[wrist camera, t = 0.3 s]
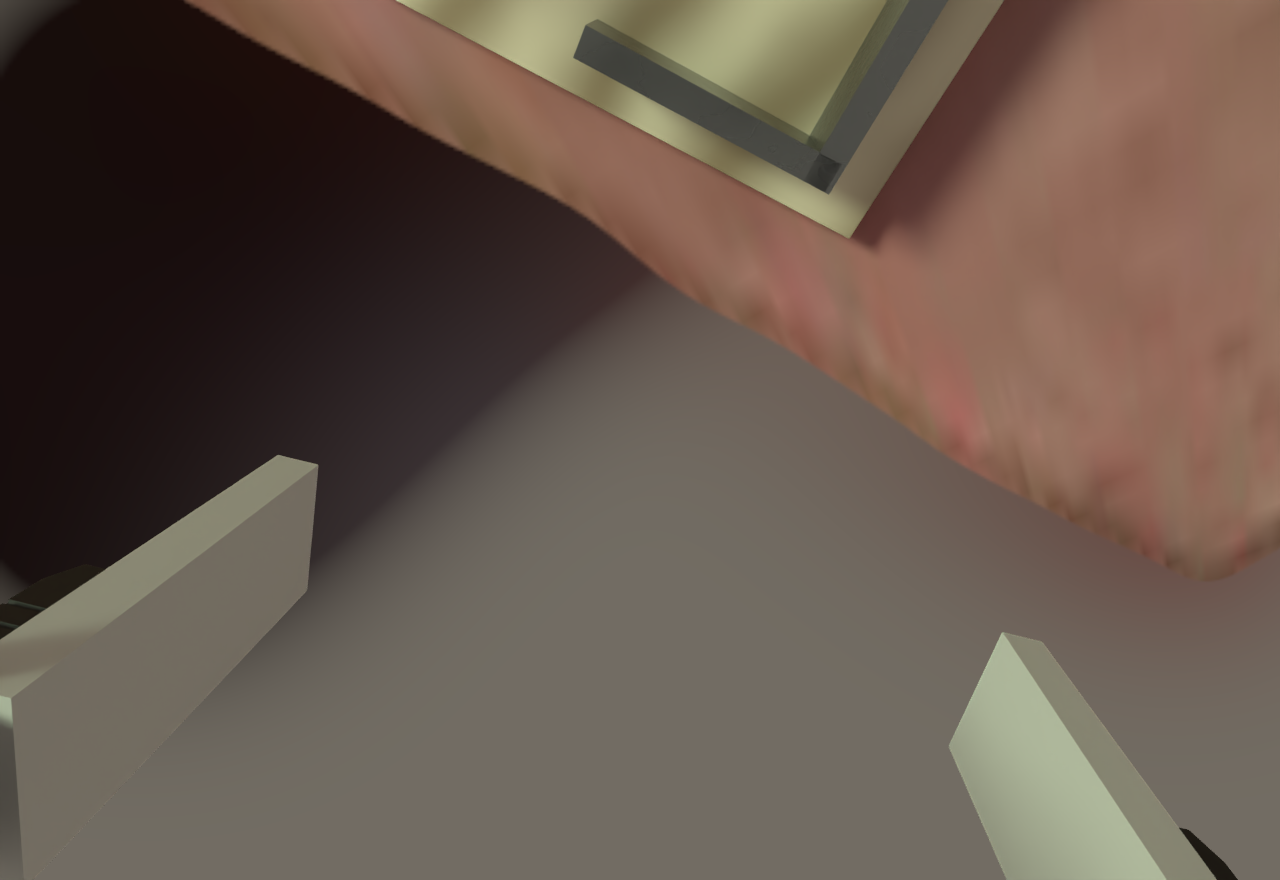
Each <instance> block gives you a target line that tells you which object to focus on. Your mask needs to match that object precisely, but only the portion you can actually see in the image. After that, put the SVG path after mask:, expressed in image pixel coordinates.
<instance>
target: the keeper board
mask: <svg viewBox="0 0 1280 880" xmlns="http://www.w3.org/2000/svg"><path fill="white" fill-rule="evenodd" d="M396 1H398V2H400V3H402V4H404V5H406V6H408V7H410V8H412V9H413V10H415V11H417V12H419V13H421V14H423V15H425V16H427V17H429V18H431V19H432V20H434V21H436V22H438V23H440V24H442V25H444V26H446V27H448V28H450V29H451V30H453V31H455V32H457V33H459V34H461V35H463V36H465V37H467V38H469V39H470V40H472V41H474V42H476V43H478V44H480V45H482V46H484V47H486V48H488V49H489V50H491V51H493V52H495V53H497V54H499V55H501V56H503V57H505V58H507V59H508V60H510V61H512V62H514V63H516V64H518V65H520V66H522V67H524V68H526V69H527V70H529V71H531V72H533V73H535V74H537V75H539V76H541V77H543V78H545V79H546V80H548V81H550V82H552V83H554V84H556V85H558V86H560V87H562V88H564V89H565V90H567V91H569V92H571V93H573V94H575V95H577V96H579V97H581V98H583V99H584V100H586V101H588V102H590V103H592V104H594V105H596V106H598V107H600V108H602V109H603V110H605V111H607V112H609V113H611V114H613V115H615V116H617V117H619V118H621V119H622V120H624V121H626V122H628V123H630V124H632V125H634V126H636V127H638V128H640V129H641V130H643V131H645V132H647V133H649V134H651V135H653V136H655V137H657V138H659V139H660V140H662V141H664V142H666V143H668V144H670V145H672V146H674V147H676V148H678V149H679V150H681V151H683V152H685V153H687V154H689V155H691V156H693V157H695V158H697V159H698V160H700V161H702V162H704V163H706V164H708V165H710V166H712V167H714V168H716V169H717V170H719V171H721V172H723V173H725V174H727V175H729V176H731V177H733V178H735V179H736V180H738V181H740V182H742V183H744V184H746V185H748V186H750V187H752V188H754V189H755V190H757V191H759V192H761V193H763V194H765V195H767V196H769V197H771V198H773V199H774V200H776V201H778V202H780V203H782V204H784V205H786V206H788V207H790V208H792V209H793V210H795V211H797V212H799V213H801V214H803V215H805V216H807V217H809V218H811V219H812V220H814V221H816V222H818V223H820V224H822V225H824V226H826V227H828V228H830V229H831V230H833V231H835V232H837V233H839V234H841V235H843V236H845V237H847V238H850V237H851V235H852V234H853V232H854V230H855V229H856V227H857V226H858V224H859V223H860V221H861V220H862V218H863V217H864V215H865V214H866V212H867V210H868V209H869V207H870V206H871V204H872V203H873V201H874V200H875V198H876V197H877V195H878V194H879V192H880V190H881V189H882V187H883V186H884V184H885V183H886V181H887V180H888V178H889V177H890V175H891V174H892V172H893V170H894V169H895V167H896V166H897V164H898V163H899V161H900V160H901V158H902V157H903V155H904V154H905V152H906V150H907V149H908V147H909V146H910V144H911V143H912V141H913V140H914V138H915V137H916V135H917V134H918V132H919V130H920V129H921V127H922V126H923V124H924V123H925V121H926V120H927V118H928V117H929V115H930V114H931V112H932V110H933V109H934V107H935V106H936V104H937V103H938V101H939V100H940V98H941V97H942V95H943V94H944V92H945V90H946V89H947V87H948V86H949V84H950V83H951V81H952V80H953V78H954V77H955V75H956V74H957V72H958V70H959V69H960V67H961V66H962V64H963V63H964V61H965V60H966V58H967V57H968V55H969V54H970V52H971V51H972V49H973V47H974V46H975V44H976V43H977V41H978V40H979V38H980V37H981V35H982V34H983V32H984V31H985V29H986V27H987V26H988V24H989V23H990V21H991V20H992V18H993V17H994V15H995V14H996V12H997V11H998V9H999V7H1000V6H1001V4H1002V3H1003V1H1004V0H948V2H947V3H946V5H945V7H944V8H943V10H942V11H941V13H940V15H939V16H938V18H937V20H936V21H935V23H934V24H933V26H932V28H931V29H930V31H929V33H928V34H927V36H926V38H925V39H924V41H923V42H922V44H921V46H920V47H919V49H918V51H917V52H916V54H915V55H914V57H913V59H912V60H911V62H910V64H909V65H908V67H907V68H906V70H905V72H904V73H903V75H902V77H901V78H900V80H899V82H898V83H897V85H896V86H895V88H894V90H893V91H892V93H891V95H890V96H889V98H888V99H887V101H886V103H885V104H884V106H883V108H882V109H881V111H880V112H879V114H878V116H877V117H876V119H875V121H874V122H873V124H872V126H871V127H870V129H869V130H868V132H867V134H866V135H865V137H864V139H863V140H862V142H861V143H860V145H859V147H858V148H857V150H856V152H855V153H854V155H853V156H852V158H851V160H850V161H849V163H848V165H847V166H846V168H845V170H844V171H843V173H842V174H841V176H840V178H839V179H838V181H837V183H836V184H835V186H834V187H833V189H832V191H831V192H830V194H829V195H828V194H827V193H825V192H823V191H821V190H819V189H817V188H815V187H813V186H812V185H810V184H808V183H806V182H804V181H802V180H800V179H799V178H797V177H795V176H793V175H791V174H789V173H787V172H785V171H784V170H782V169H780V168H778V167H776V166H774V165H772V164H771V163H769V162H767V161H765V160H763V159H761V158H759V157H757V156H756V155H754V154H752V153H750V152H748V151H746V150H744V149H742V148H741V147H739V146H737V145H735V144H733V143H731V142H729V141H728V140H726V139H724V138H722V137H720V136H718V135H716V134H714V133H713V132H711V131H709V130H707V129H705V128H703V127H701V126H700V125H698V124H696V123H694V122H692V121H690V120H688V119H686V118H685V117H683V116H681V115H679V114H677V113H675V112H673V111H671V110H670V109H668V108H666V107H664V106H662V105H660V104H658V103H657V102H655V101H653V100H651V99H649V98H647V97H645V96H643V95H642V94H640V93H638V92H636V91H634V90H632V89H630V88H629V87H627V86H625V85H623V84H621V83H619V82H617V81H615V80H614V79H612V78H610V77H608V76H606V75H604V74H602V73H600V72H599V71H597V70H595V69H593V68H591V67H589V66H587V65H586V64H584V63H582V62H580V61H578V60H576V59H574V58H573V56H574V54H575V51H576V48H577V46H578V43H579V41H580V38H581V35H582V33H583V30H584V28H585V25H586V24H588V23H590V22H592V21H594V20H596V19H599V20H600V21H602V22H604V23H606V24H608V25H610V26H611V27H613V28H615V29H617V30H619V31H620V32H622V33H624V34H626V35H628V36H630V37H631V38H633V39H635V40H637V41H639V42H641V43H642V44H644V45H646V46H648V47H650V48H651V49H653V50H655V51H657V52H659V53H661V54H662V55H664V56H666V57H668V58H670V59H672V60H673V61H675V62H677V63H679V64H681V65H682V66H684V67H686V68H688V69H690V70H692V71H693V72H695V73H697V74H699V75H701V76H703V77H704V78H706V79H708V80H710V81H712V82H713V83H715V84H717V85H719V86H721V87H723V88H724V89H726V90H728V91H730V92H732V93H734V94H735V95H737V96H739V97H741V98H743V99H744V100H746V101H748V102H750V103H752V104H754V105H755V106H757V107H759V108H761V109H763V110H765V111H766V112H768V113H770V114H772V115H774V116H775V117H777V118H779V119H781V120H783V121H785V122H786V123H788V124H790V125H792V126H794V127H796V128H797V129H799V130H801V131H803V132H805V133H806V134H808V135H810V134H811V132H812V130H813V129H814V127H815V125H816V123H817V122H818V120H819V118H820V116H821V115H822V113H823V111H824V109H825V108H826V106H827V104H828V102H829V101H830V99H831V97H832V96H833V94H834V92H835V90H836V89H837V87H838V85H839V83H840V82H841V80H842V78H843V76H844V75H845V73H846V71H847V69H848V68H849V66H850V64H851V62H852V61H853V59H854V57H855V55H856V54H857V52H858V50H859V48H860V47H861V45H862V43H863V41H864V40H865V38H866V36H867V35H868V33H869V31H870V29H871V28H872V26H873V24H874V22H875V21H876V19H877V17H878V15H879V14H880V12H881V10H882V8H883V7H884V5H885V3H886V1H887V0H396Z"/></svg>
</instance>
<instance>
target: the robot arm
mask: <svg viewBox="0 0 1280 880" xmlns="http://www.w3.org/2000/svg"><path fill="white" fill-rule="evenodd" d="M317 473H318V465H317V464H312V463H309V462H304V461H301V460H296V459H292V458H288V457H284V456H280V455H277V456H276V457H275V458H273V459H271V460H270V461H268V462H267V463H266V464H264V465H262V466H261V467H259V468H258V469H256V470H255V471H253V472H252V473H250V474H249V475H247V476H246V477H244V478H243V479H241V480H240V481H238V482H237V483H235V484H234V485H232V486H231V487H229V488H228V489H226V490H225V491H223V492H222V493H220V494H219V495H217V496H216V497H214V498H213V499H211V500H210V501H208V502H207V503H205V504H204V505H202V506H201V507H199V508H198V509H196V510H195V511H193V512H192V513H190V514H189V515H187V516H186V517H184V518H183V519H181V520H180V521H178V522H177V523H175V524H173V525H172V526H171V527H169V528H167V529H166V530H164V531H163V532H161V533H160V534H158V535H157V536H155V537H154V538H153V539H151V540H149V541H148V542H147V543H145V544H144V545H142V546H141V547H139V548H138V549H136V550H134V551H133V552H131V553H130V554H128V555H127V556H125V557H124V558H122V559H121V560H119V561H118V562H117V563H115V564H113V565H112V566H111V567H109V568H107V569H103V568H98V567H94V566H90V565H86V564H85V565H82V566H79V567H76V568H73V569H70V570H67V571H64V572H61V573H58V574H55V575H52V576H49V577H46V578H44V579H42V580H40V581H38V582H36V583H35V584H33V585H32V586H30V587H28V588H27V589H25V590H24V591H22V592H20V593H19V594H17V595H15V596H14V597H12V598H10V599H9V602H8V603H7V604H1V605H0V880H34V878H35V877H36V876H37V875H38V874H39V873H40V872H41V871H42V870H43V869H44V868H45V867H46V866H47V865H48V864H49V863H50V861H51V860H52V859H53V858H54V857H55V856H56V855H57V854H58V853H59V852H60V851H61V850H62V849H63V848H64V847H65V846H66V845H67V844H68V843H69V842H70V840H71V839H72V838H73V837H74V836H75V835H76V834H77V833H78V832H79V831H80V830H81V829H82V828H83V827H84V826H85V824H87V822H88V821H89V820H90V819H91V818H92V817H93V816H94V815H95V814H96V813H97V812H98V811H99V810H100V809H101V808H102V807H103V806H104V804H105V803H106V802H107V801H108V800H109V799H110V798H111V797H112V796H113V795H114V794H115V793H116V792H117V791H118V790H119V789H120V788H121V786H122V785H123V784H124V783H125V782H126V781H127V780H128V779H129V778H130V777H131V776H132V775H133V774H134V773H135V772H136V771H137V770H138V768H139V767H140V766H141V765H142V764H143V763H144V762H145V761H146V760H147V759H148V758H149V757H150V756H151V755H152V754H153V753H154V751H156V749H157V748H158V747H159V746H160V745H161V744H162V743H163V742H164V741H165V740H166V739H167V738H168V737H169V736H170V735H171V733H173V732H174V730H175V729H176V728H177V727H178V726H179V725H180V724H181V723H182V722H183V721H184V720H185V719H186V718H187V717H188V716H189V715H190V713H191V712H192V711H193V710H194V709H195V708H196V707H197V706H198V705H199V704H200V703H201V702H202V701H203V700H204V699H205V698H206V697H207V695H208V694H209V693H210V692H211V691H212V690H213V689H214V688H215V687H216V686H217V685H218V684H219V683H220V682H221V681H222V680H223V679H224V678H225V677H226V675H227V674H228V673H229V672H230V671H231V670H232V669H233V668H234V667H235V666H236V665H237V664H238V663H239V662H240V661H241V660H242V659H243V657H244V656H245V655H246V654H247V653H248V652H249V651H250V650H251V649H252V648H253V647H254V646H255V645H256V644H257V643H258V642H259V641H260V639H261V638H262V637H263V636H264V635H265V634H266V633H267V632H268V631H269V630H270V629H271V628H272V627H273V626H274V625H275V624H276V622H277V621H278V620H279V619H280V618H281V617H282V616H283V615H284V614H285V613H286V612H287V611H288V610H289V609H290V608H291V607H292V606H293V605H294V603H295V602H296V601H297V600H298V599H299V598H300V597H301V596H302V595H303V594H304V593H305V592H306V591H307V584H308V573H309V562H310V551H311V540H312V529H313V518H314V507H315V496H316V485H317ZM949 748H950V751H951V753H952V755H953V758H954V760H955V762H956V765H957V767H958V769H959V771H960V774H961V776H962V778H963V781H964V783H965V785H966V788H967V790H968V792H969V794H970V797H971V799H972V801H973V804H974V806H975V808H976V810H977V813H978V815H979V817H980V820H981V822H982V824H983V826H984V829H985V831H986V833H987V836H988V838H989V840H990V843H991V845H992V847H993V849H994V852H995V854H996V856H997V859H998V861H999V863H1000V865H1001V867H1002V870H1003V872H1004V875H1005V877H1006V879H1007V880H1238V879H1237V878H1236V877H1235V876H1234V874H1233V873H1232V872H1231V870H1230V869H1229V868H1228V866H1227V865H1226V864H1225V863H1224V862H1223V861H1222V860H1221V859H1220V858H1219V857H1218V856H1217V855H1216V854H1215V853H1213V852H1212V851H1211V850H1210V849H1209V848H1208V847H1207V846H1206V845H1205V844H1204V843H1202V842H1201V841H1200V840H1199V839H1198V838H1197V837H1196V836H1195V835H1194V834H1193V833H1191V831H1189V830H1187V829H1182V828H1179V827H1178V826H1177V825H1176V823H1175V822H1174V821H1173V820H1172V818H1171V817H1170V816H1169V814H1168V813H1167V811H1166V810H1165V808H1164V807H1163V806H1162V804H1161V803H1160V802H1159V800H1158V799H1157V798H1156V797H1155V795H1154V793H1153V792H1152V791H1151V789H1150V788H1149V787H1148V785H1147V784H1146V783H1145V781H1144V780H1143V779H1142V777H1141V776H1140V774H1139V773H1138V772H1137V770H1136V769H1135V768H1134V766H1133V765H1132V764H1131V762H1130V761H1129V759H1128V758H1127V757H1126V755H1125V754H1124V753H1123V751H1122V750H1121V748H1120V747H1119V746H1118V744H1117V743H1116V742H1115V740H1114V739H1113V738H1112V736H1111V735H1110V734H1109V732H1108V731H1107V729H1106V728H1105V727H1104V725H1103V724H1102V723H1101V721H1100V720H1099V719H1098V717H1097V716H1096V714H1095V713H1094V712H1093V710H1092V709H1091V708H1090V706H1089V705H1088V704H1087V702H1086V701H1085V699H1084V698H1083V697H1082V695H1081V694H1080V693H1079V691H1078V690H1077V689H1076V687H1075V686H1074V685H1073V683H1072V682H1071V681H1070V679H1069V678H1068V676H1067V675H1066V674H1065V672H1064V671H1063V669H1062V668H1061V667H1060V665H1059V664H1058V663H1057V661H1056V660H1055V659H1054V657H1053V656H1052V655H1051V653H1050V652H1049V651H1048V649H1047V648H1046V646H1045V645H1044V644H1043V642H1041V641H1037V640H1032V639H1029V638H1025V637H1020V636H1017V635H1013V634H1009V633H1005V632H1003V633H1002V634H1001V636H1000V638H999V640H998V642H997V645H996V647H995V649H994V651H993V653H992V655H991V657H990V660H989V662H988V664H987V666H986V668H985V670H984V672H983V674H982V677H981V679H980V681H979V683H978V685H977V687H976V689H975V691H974V693H973V696H972V698H971V700H970V702H969V704H968V706H967V708H966V710H965V712H964V715H963V717H962V719H961V721H960V723H959V725H958V727H957V730H956V732H955V734H954V736H953V738H952V740H951V742H950V744H949Z"/></svg>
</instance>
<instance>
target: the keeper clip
mask: <svg viewBox="0 0 1280 880" xmlns="http://www.w3.org/2000/svg"><path fill="white" fill-rule="evenodd" d="M947 2H948V0H887V1H886V3H885V5H884V7H883V8H882V10H881V12H880V14H879V15H878V17H877V19H876V21H875V22H874V24H873V26H872V28H871V29H870V31H869V33H868V35H867V36H866V38H865V40H864V41H863V43H862V45H861V47H860V48H859V50H858V52H857V54H856V55H855V57H854V59H853V61H852V62H851V64H850V66H849V68H848V69H847V71H846V73H845V75H844V76H843V78H842V80H841V82H840V83H839V85H838V87H837V89H836V90H835V92H834V94H833V96H832V97H831V99H830V101H829V102H828V104H827V106H826V108H825V109H824V111H823V113H822V115H821V116H820V118H819V120H818V122H817V123H816V125H815V127H814V129H813V130H812V132H811V134H810V135H808V134H806V133H805V132H803V131H801V130H799V129H797V128H796V127H794V126H792V125H790V124H788V123H786V122H785V121H783V120H781V119H779V118H777V117H775V116H774V115H772V114H770V113H768V112H766V111H765V110H763V109H761V108H759V107H757V106H755V105H754V104H752V103H750V102H748V101H746V100H744V99H743V98H741V97H739V96H737V95H735V94H734V93H732V92H730V91H728V90H726V89H724V88H723V87H721V86H719V85H717V84H715V83H713V82H712V81H710V80H708V79H706V78H704V77H703V76H701V75H699V74H697V73H695V72H693V71H692V70H690V69H688V68H686V67H684V66H682V65H681V64H679V63H677V62H675V61H673V60H672V59H670V58H668V57H666V56H664V55H662V54H661V53H659V52H657V51H655V50H653V49H651V48H650V47H648V46H646V45H644V44H642V43H641V42H639V41H637V40H635V39H633V38H631V37H630V36H628V35H626V34H624V33H622V32H620V31H619V30H617V29H615V28H613V27H611V26H610V25H608V24H606V23H604V22H602V21H600V20H599V19H596V20H594V21H592V22H590V23H588V24H586V25H585V28H584V30H583V33H582V35H581V38H580V41H579V43H578V46H577V48H576V51H575V54H574V56H573V58H574V59H576V60H578V61H580V62H582V63H584V64H586V65H587V66H589V67H591V68H593V69H595V70H597V71H599V72H600V73H602V74H604V75H606V76H608V77H610V78H612V79H614V80H615V81H617V82H619V83H621V84H623V85H625V86H627V87H629V88H630V89H632V90H634V91H636V92H638V93H640V94H642V95H643V96H645V97H647V98H649V99H651V100H653V101H655V102H657V103H658V104H660V105H662V106H664V107H666V108H668V109H670V110H671V111H673V112H675V113H677V114H679V115H681V116H683V117H685V118H686V119H688V120H690V121H692V122H694V123H696V124H698V125H700V126H701V127H703V128H705V129H707V130H709V131H711V132H713V133H714V134H716V135H718V136H720V137H722V138H724V139H726V140H728V141H729V142H731V143H733V144H735V145H737V146H739V147H741V148H742V149H744V150H746V151H748V152H750V153H752V154H754V155H756V156H757V157H759V158H761V159H763V160H765V161H767V162H769V163H771V164H772V165H774V166H776V167H778V168H780V169H782V170H784V171H785V172H787V173H789V174H791V175H793V176H795V177H797V178H799V179H800V180H802V181H804V182H806V183H808V184H810V185H812V186H813V187H815V188H817V189H819V190H821V191H823V192H825V193H827V194H828V195H829V194H830V192H831V191H832V189H833V187H834V186H835V184H836V183H837V181H838V179H839V178H840V176H841V174H842V173H843V171H844V170H845V168H846V166H847V165H848V163H849V161H850V160H851V158H852V156H853V155H854V153H855V152H856V150H857V148H858V147H859V145H860V143H861V142H862V140H863V139H864V137H865V135H866V134H867V132H868V130H869V129H870V127H871V126H872V124H873V122H874V121H875V119H876V117H877V116H878V114H879V112H880V111H881V109H882V108H883V106H884V104H885V103H886V101H887V99H888V98H889V96H890V95H891V93H892V91H893V90H894V88H895V86H896V85H897V83H898V82H899V80H900V78H901V77H902V75H903V73H904V72H905V70H906V68H907V67H908V65H909V64H910V62H911V60H912V59H913V57H914V55H915V54H916V52H917V51H918V49H919V47H920V46H921V44H922V42H923V41H924V39H925V38H926V36H927V34H928V33H929V31H930V29H931V28H932V26H933V24H934V23H935V21H936V20H937V18H938V16H939V15H940V13H941V11H942V10H943V8H944V7H945V5H946V3H947Z"/></svg>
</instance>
